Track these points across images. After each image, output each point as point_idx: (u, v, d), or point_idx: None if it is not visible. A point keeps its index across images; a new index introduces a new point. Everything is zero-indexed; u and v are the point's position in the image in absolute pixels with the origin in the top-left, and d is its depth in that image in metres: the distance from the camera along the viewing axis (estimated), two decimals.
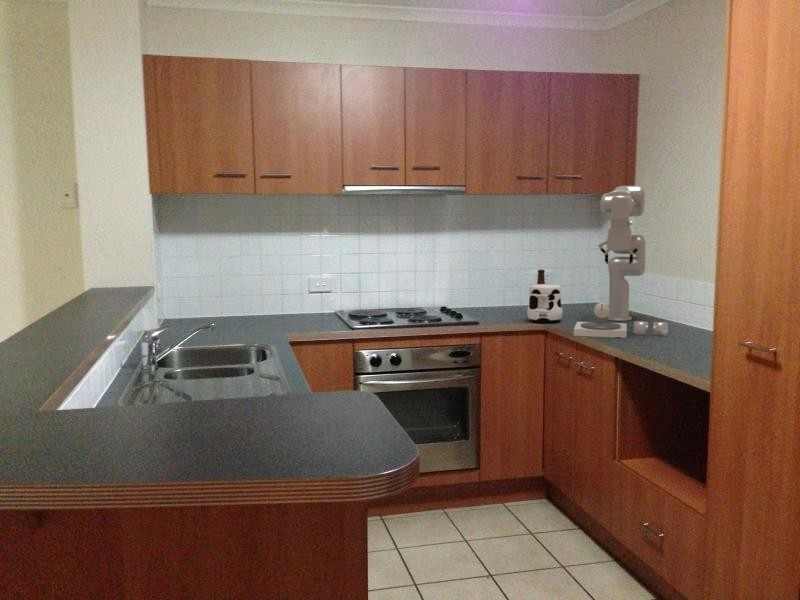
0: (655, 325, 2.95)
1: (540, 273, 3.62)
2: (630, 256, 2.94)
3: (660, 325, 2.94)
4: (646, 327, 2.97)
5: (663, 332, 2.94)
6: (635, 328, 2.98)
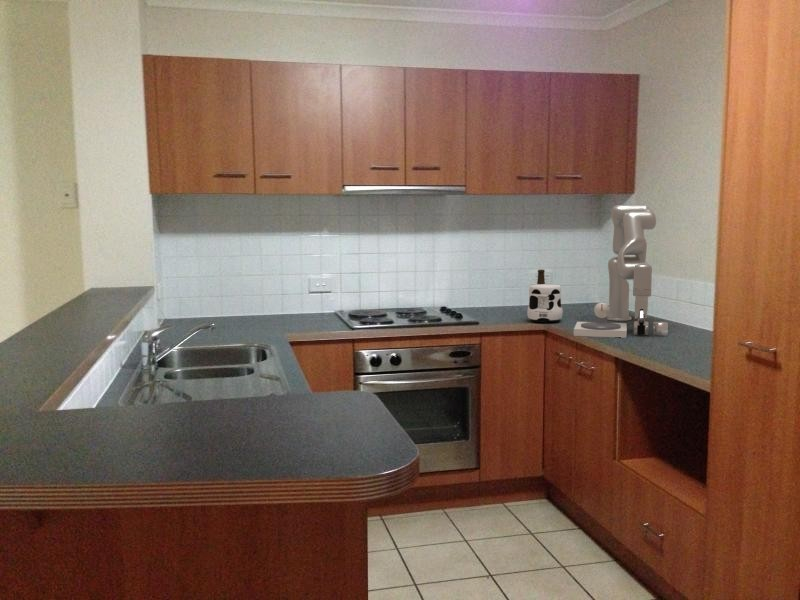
0: (655, 325, 2.95)
1: (540, 273, 3.62)
2: None
3: (660, 325, 2.94)
4: (646, 327, 2.97)
5: (663, 332, 2.94)
6: (635, 328, 2.98)
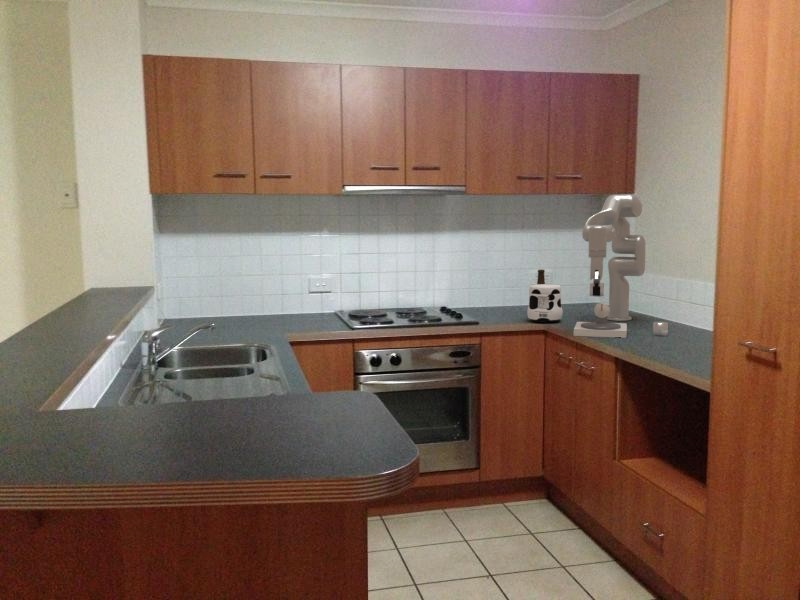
0: (655, 325, 2.95)
1: (540, 273, 3.62)
2: None
3: (660, 325, 2.94)
4: (601, 288, 2.99)
5: (663, 332, 2.94)
6: (591, 289, 3.01)
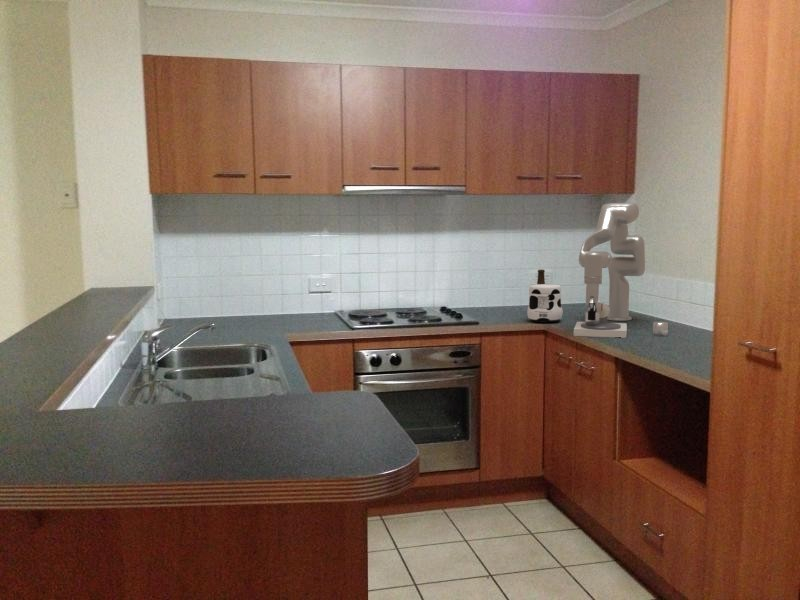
0: (655, 325, 2.95)
1: (540, 273, 3.62)
2: (596, 309, 3.07)
3: (660, 325, 2.94)
4: (597, 317, 3.01)
5: (663, 332, 2.94)
6: (586, 318, 3.03)
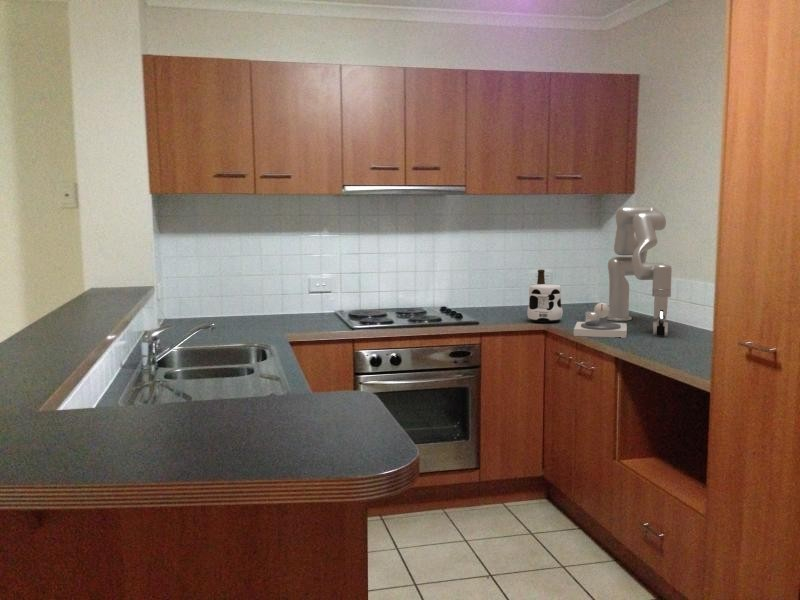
0: (655, 325, 2.95)
1: (540, 273, 3.62)
2: None
3: None
4: (597, 317, 3.01)
5: None
6: (586, 318, 3.03)
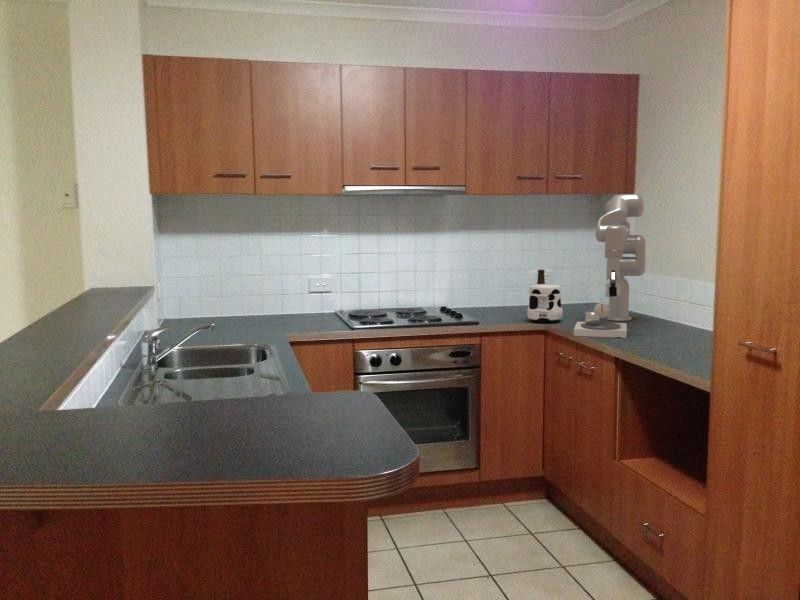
0: (607, 286, 2.98)
1: (540, 273, 3.62)
2: None
3: None
4: (597, 317, 3.01)
5: None
6: (586, 318, 3.03)
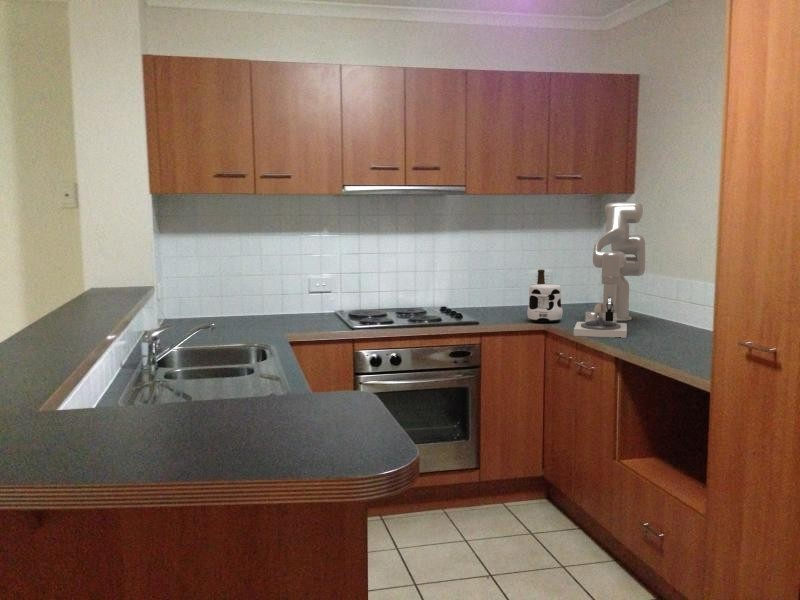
0: (604, 315, 3.00)
1: (540, 273, 3.62)
2: (613, 310, 3.05)
3: None
4: (597, 317, 3.01)
5: (612, 322, 2.99)
6: (586, 318, 3.03)
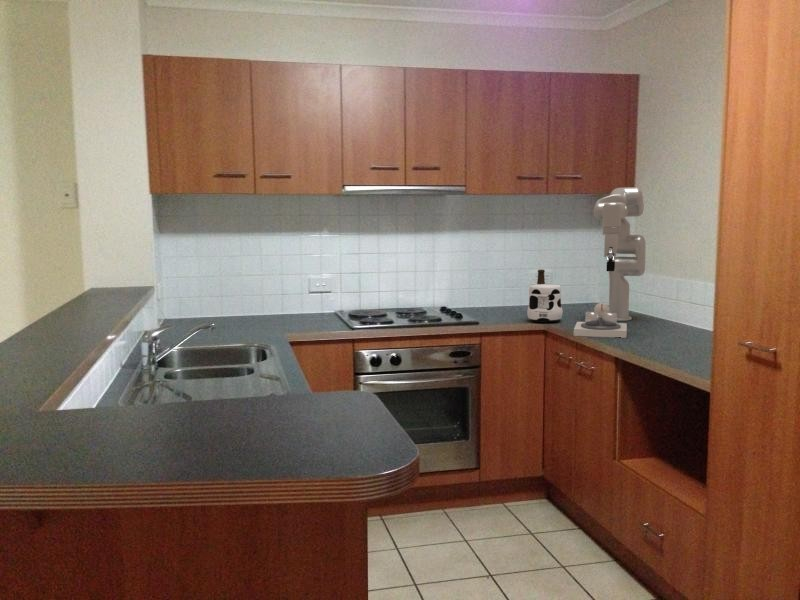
0: (604, 315, 3.00)
1: (540, 273, 3.62)
2: (614, 262, 3.02)
3: (609, 315, 2.98)
4: (597, 317, 3.01)
5: (612, 322, 2.99)
6: (586, 318, 3.03)
